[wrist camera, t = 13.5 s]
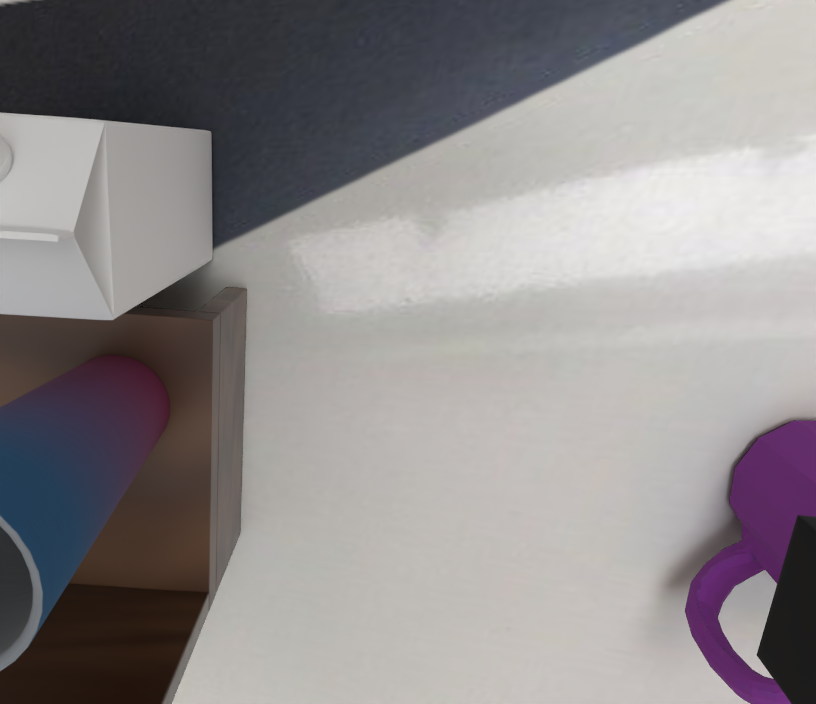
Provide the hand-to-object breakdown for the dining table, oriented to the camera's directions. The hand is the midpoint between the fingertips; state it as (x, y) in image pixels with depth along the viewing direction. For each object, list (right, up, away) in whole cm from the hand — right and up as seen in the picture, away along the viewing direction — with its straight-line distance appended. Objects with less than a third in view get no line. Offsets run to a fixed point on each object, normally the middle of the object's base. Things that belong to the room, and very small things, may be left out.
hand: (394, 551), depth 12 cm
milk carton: (-14, +12, +28) cm, 34 cm away
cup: (-14, +1, +23) cm, 27 cm away
